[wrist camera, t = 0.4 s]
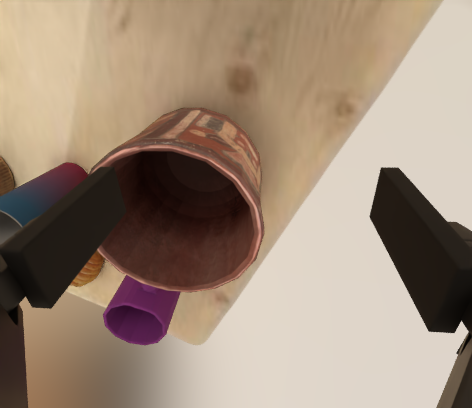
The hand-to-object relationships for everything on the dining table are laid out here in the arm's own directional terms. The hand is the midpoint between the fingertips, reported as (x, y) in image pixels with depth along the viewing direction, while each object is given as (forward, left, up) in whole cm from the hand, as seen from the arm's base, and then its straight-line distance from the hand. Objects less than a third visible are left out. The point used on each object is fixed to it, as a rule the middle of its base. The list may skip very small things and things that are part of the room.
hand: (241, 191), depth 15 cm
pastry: (+30, -34, -27) cm, 53 cm away
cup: (+12, -30, -27) cm, 42 cm away
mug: (+25, -16, -27) cm, 40 cm away
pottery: (+9, -8, -27) cm, 30 cm away
